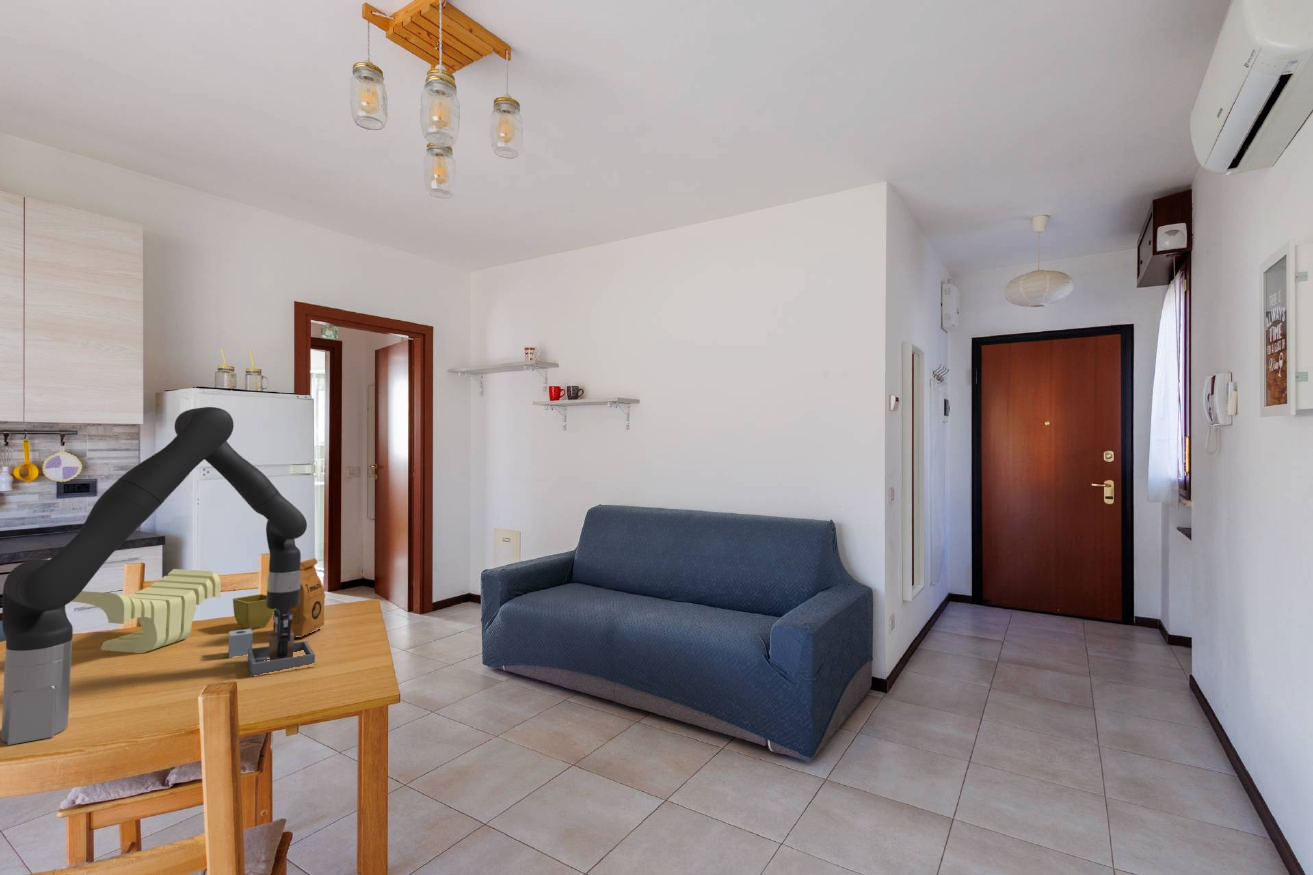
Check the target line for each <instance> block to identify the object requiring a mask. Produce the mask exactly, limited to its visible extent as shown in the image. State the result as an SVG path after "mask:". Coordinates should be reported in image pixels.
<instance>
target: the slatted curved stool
mask: <svg viewBox="0 0 1313 875" xmlns="http://www.w3.org/2000/svg"><path fill="white" fill-rule="evenodd" d="M221 584H222V583H221V578H220V577H219V575H218V574H217V573H216V572H214V571H210V570H199V569H198V570H196V569H181V568H180V569H179V568H178V569H177V568H173V569H172V570H170V572H168V574H167V575H164V576H162V577H161V578H160V579H158V581H155V582H154V583H152V584H151V585H150V586H146V587H145V588H143V589H141V590H138V591H136V592H134V593H130V594H126V595H125V594H124V595H123V594H120V593H119V594H118V593H115V592H112V593H111V592H99V591H84V590H82V591H81V592H80V593H79V595H78V596H77V597H76V598H75V599H74V600H72V601H71V602H73V603H80V604H88V605H92V606H94V607H98V608H99V609H101V610H103V612H104V613H105V615H106V617H107V620H108V621H107V622H108V624H121V625H125V624H126V623H128V622H130V621H131V620H132V619H133V620H135V619H137V621H138V623H139V624H140V626H141V628H142V630H138V631H135V632H133V633H128V634H125V635H122V636H118V637H116V638H112V639H108V640H105V641H103V643H102V645H101V647H100V649H102V650H101V651H109V650H110V651H111V652H122V653H123V652H124V653H133V652H134V653H135V654H136V653H137V654H143V653H147V652H150V651H153V650H156V649H158V648H159V649H160V648H162V647H165V646H168V645H170V644H173V643H176V642H180V641H182V640H185V639H188V638H189V637H190V635H191V632H192V625H193V622H194V616H195V613H196V611H197V606H200V604H202V602H204V601H205V599H211V598H214V597H215V598H216V597H217V598H221V588H222V585H221ZM71 602H70V603H71ZM100 649H99V650H100Z"/></svg>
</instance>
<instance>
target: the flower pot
mask: <svg viewBox="0 0 1313 875" xmlns="http://www.w3.org/2000/svg"><path fill="white" fill-rule="evenodd" d="M266 599H267V594H263V593H261V594H260V593H259V594H252V595H247V596H240V597H236V598H232V605H233V606H232V608H233V615H234V618H235V620H236V622H237V623H236V624H238V626H239V627H240V628H242V629H245V628H246V629H251V628H255V629H258V628H257V627H260V628H262V627H261V626H265V627H266V626H267V625H268V624H269V623H270V621H271V619H272V618H273V613H274V609H270V608H267V606H266Z"/></svg>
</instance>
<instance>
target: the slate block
mask: <svg viewBox="0 0 1313 875" xmlns="http://www.w3.org/2000/svg"><path fill="white" fill-rule="evenodd" d="M228 632H229V633H228V648H227V649H228V650H227V651H228V652H227V654H229V655H228V659H229V658H231V659H233V658H232V657H234V656H243V655H247V654H248V649H251V648H253V633H254V632H253V629H245V628H243V629H239V630H231V631H228Z"/></svg>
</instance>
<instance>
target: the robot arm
mask: <svg viewBox="0 0 1313 875" xmlns="http://www.w3.org/2000/svg"><path fill="white" fill-rule="evenodd" d="M233 419H234V418H232V416H231V414H230V412H228V411H227V410H225V409H223V408H219V407H213V406H204V407H196V408H191V409H188V410H185V411H183V412H181V413H180V414H179V415H178V416H177V417H176V419H175V421H174V432H175V434H176V436H175V437H174V438H173V439H172V440H171V441H170V442H169V443H168V444H167V445H165V447H164V448H162V449H161V450H159V451H157V452H156V453H154V454H152V455H151V456H149V457H148V458H146V459H145V460H143V461H141V462H139V463H138V464H137V465H135V466H133V467H132V468H130V469H129V470H128V471H127V472H125V473H124V474H123V475H121V476H120V477H119V478H118V479H117V480H116V481H115V482H114V483H112V485H111V486H110V487H109V488H107V489H106V491H104V492H103V493H102V495H101V496H100V497H99V498H98V499H97V500H96V502H95V503H94V505H93V506H92V508H91V510H90V512H89V514H88V516H87V517H86V518H85V519H86V520H85V521H84V523H83V525H82V527H81V528H80V530H79V531H78V532H77V534H76V535H75V536H74V537H73V538H72V539H71V540H70V541H69V542H68V543H67V544H66V545H65V546H64V547H63V548H61V550H59V551H58V552H57V553H56V554H55V555H53V556H52V557H51V558H50V559H47V558H37V559H35V558H34V559H30V560H26V561H24V562H22V563H20V564H18V565H17V566H16V567H14V568H13V569H12V570H11V571H9V573H8V575H7V576H6V579H5V580H4V583H3V589H2V604H1V605H2V611H1V612H2V616H1V617H2V619H1V622H2V625H1V626H2V631H3V634H4V637H5V644H6V645H5V659H4V660H5V661H4V675H3V676H4V678H3V692H2V693H3V695H2V696H3V697H2V711H1V712H2V714H1V731H0V739H1V741H2V742H4V743H6V745H8V746H9V745H10V746H11V745H16V744H21V743H26V742H32V741H37V740H38V741H39V740H44V739H49V738H53V737H54V736H55V735H56V734H58V733H60V732H62V731H64V730H66V728H68V726H69V710H70V708H69V707H70V692H71V691H70V690H71V687H70V686H71V672H72V671H71V670H72V669H71V668H72V667H71V666H72V665H71V664H72V653H73V652H72V649H73V635H74V634H73V633H74V632H73V631H74V628H73V625H72V623H71V621H70V620H69V618H68V615H67V613H66V606H67V605H68V604H70V603H71V601H72V600H74V599H75V598H76V597H77V596H78V595H79V593H80V592H81V591H84V589H85V588H86V586H87V585H89V582H91V580H92V578H94V576H95V575H96V574H97V573H98V571H100V569H101V567H102V566H103V565H104V564H105V563H106V561H108V559H109V558H110V557H111V556H112V555H113V553H114V552H115V551H116V550H117V549H119V547H121V545H122V544H124V543H125V542H126V541H127V540H128V539H129V538H130V537H131V535H132V534H133V533H134V532H136V530H137V529H138V528H139V527H141V525H142V524H143V523H145V522H146V520H148V519H149V518H150V517H151V515H153V514H154V512H156V511H157V510H158V509H159V507H160V506H162V504H163V503H164V502H165V500H167V499H168V498H169V496H170V495H171V494H172V493H173V492H174V491H175V490H176V489H177V488H178V487H179V486H180V485H181V484H182V483H183V481H184V480H185V479H187V477H188V476H189V474H191V472H192V471H193V470H194V469H195V468H196V467H197V466H198V465H200V464H201V462H203V461H204V460H205V462H207V463H208V464H209V465H211V467H212V468H214V469H215V470H216V471H217V472H218V473H219V474H220V475H221V476H222V477H223V478H224V479H225V480H226V481H227V482H228V483H229V484H230V486H232V488H233V489H234V490H235V491H236V492H237V493H238V494H239V495H240V497H241V498H242V499H243V500H244V502H246V503H247V504H248V506H249V507H250V508H251V509H252V510H253V511H254V512H255V513H257V514H259V515H261V516H262V517H264V518H265V519H266V520H267V522H266V527H265V535H266V540H267V546H268V552H269V560H268V561H269V564H268V577H267V580H266V582H267V583H266V595H267V599H266V606H267V608H270V609H274V612H273V615H272V619H273V620H272V621H273V625H272V627H273V628H272V629H273V631H272V632H275V633H276V634H277V642H278V647H277V656H278V657H286V656H287V651H288V642H289V641H290V632H291V622H292V614H291V611H290V612H289V609H290V608H291V607H296V606H298V605H299V603H300V586H301V575H300V563H301V562H302V561H301V559H302V558H301V557H302V554H301V550H300V548H298V547H297V546H296V540H295V539H298V538H301V537H302V536H303V535H304V534H305V533H306V531H307V528H308V522H307V520H306V518H305V516H304V514H303V513H302V512H301V511H300V510H299V509H298V508H297V507H296V506H294V504H292V503H291V502H290V501H289V500H288V499H287V498H285V497H284V496H283V495H282V494H281V492H280V491H279V490H278V489H277V488H276V486H275V485H274V484H273V483H272V481H271V480H270V479H269V478H268V477H267V476H266V475H265V474H264V473H263V472H262V471H261V470H259V468H258V467H256V466H255V465H253V464H252V463H251V462H249V461H248V460H246V459H245V458H244V457H243V456H241V455H240V454H239V453H238V452H237V451H236V450H235V449H234V448H233V447H232V446H231V445H230V444H229V442H228V440H229V439H230V437H231V435H233V434H232V433H233V431H234V426H235V425H234V420H233ZM284 633H286V636H285V637H281V635H282V634H284Z"/></svg>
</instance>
